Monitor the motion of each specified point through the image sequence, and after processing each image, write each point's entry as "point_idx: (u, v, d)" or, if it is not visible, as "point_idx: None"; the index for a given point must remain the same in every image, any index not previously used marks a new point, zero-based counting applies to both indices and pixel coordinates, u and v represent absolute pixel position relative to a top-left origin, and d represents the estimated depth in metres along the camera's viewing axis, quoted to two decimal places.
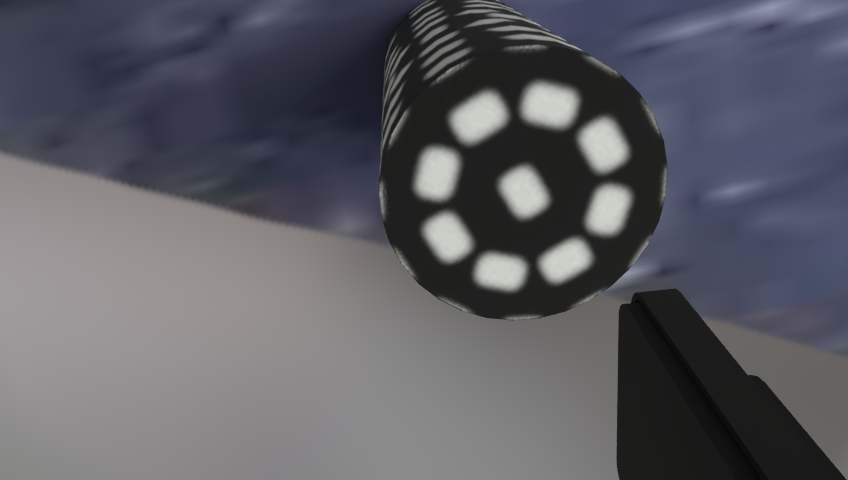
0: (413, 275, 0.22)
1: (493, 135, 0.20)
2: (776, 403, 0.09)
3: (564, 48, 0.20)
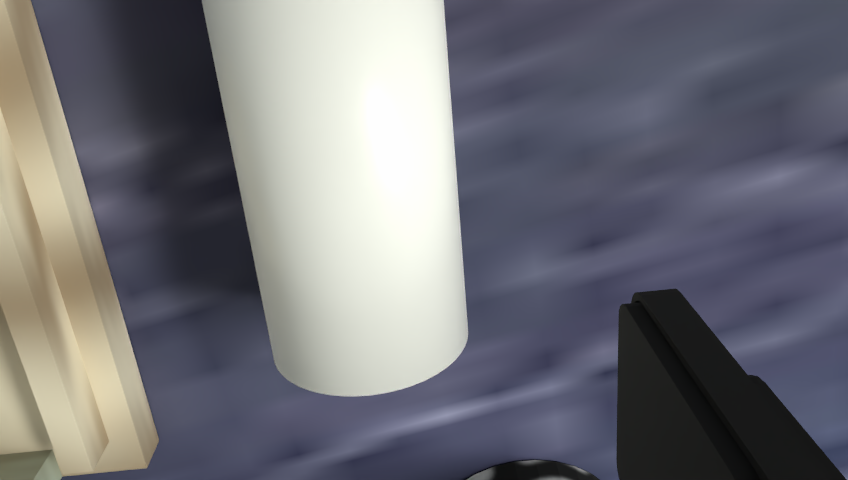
0: None
1: None
2: (776, 402, 0.09)
3: None
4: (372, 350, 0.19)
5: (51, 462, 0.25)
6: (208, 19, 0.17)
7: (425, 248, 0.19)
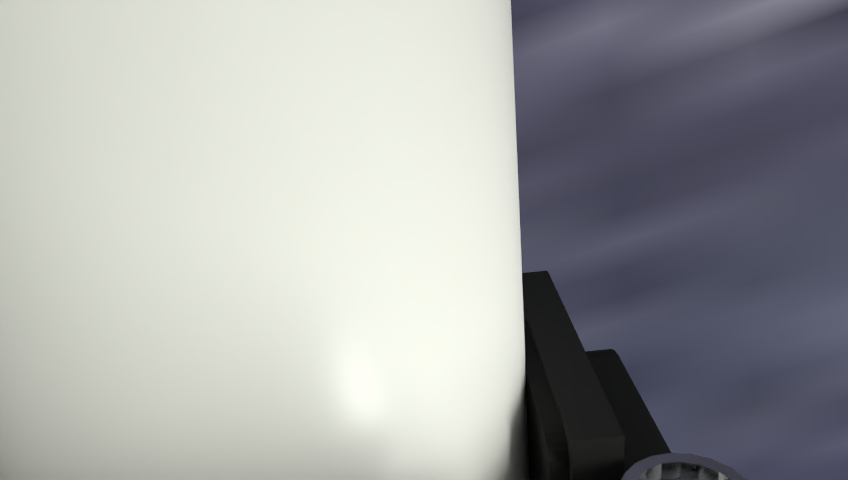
0: None
1: None
2: (624, 373, 0.09)
3: None
4: None
5: None
6: None
7: None
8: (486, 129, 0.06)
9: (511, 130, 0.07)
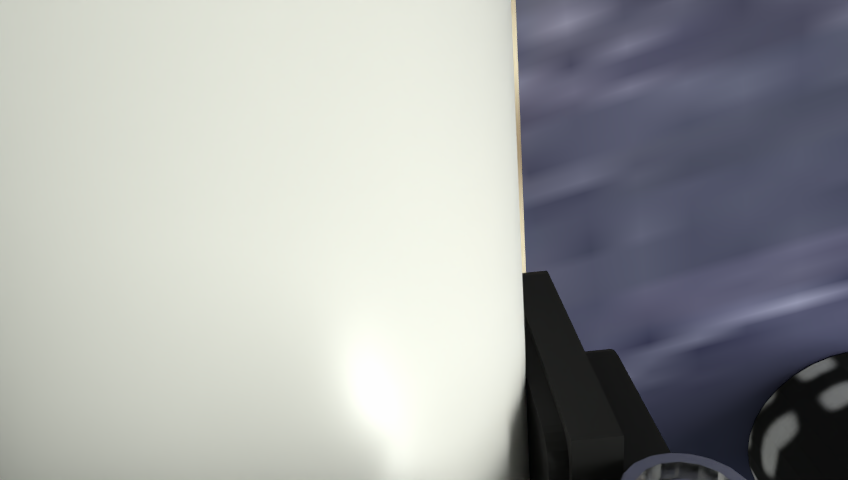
0: None
1: None
2: (624, 373, 0.09)
3: None
4: None
5: None
6: None
7: None
8: (487, 136, 0.06)
9: (511, 138, 0.07)
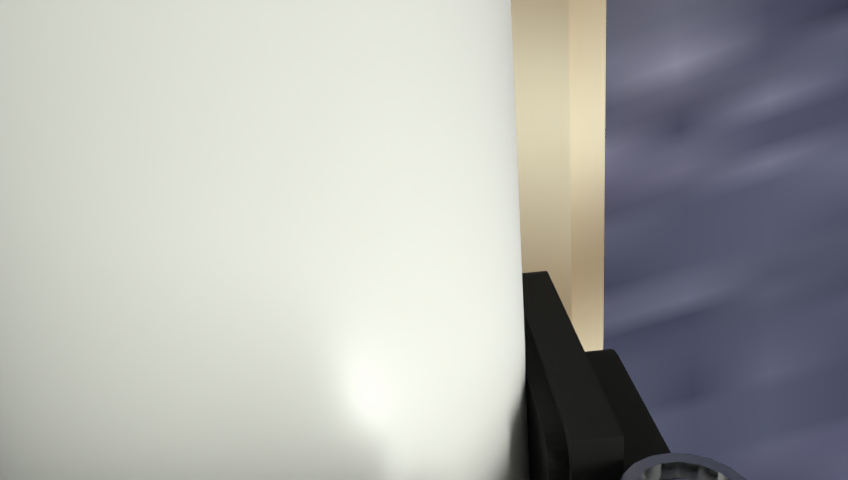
0: None
1: None
2: (624, 372, 0.09)
3: None
4: None
5: None
6: None
7: None
8: (485, 138, 0.06)
9: (511, 139, 0.07)
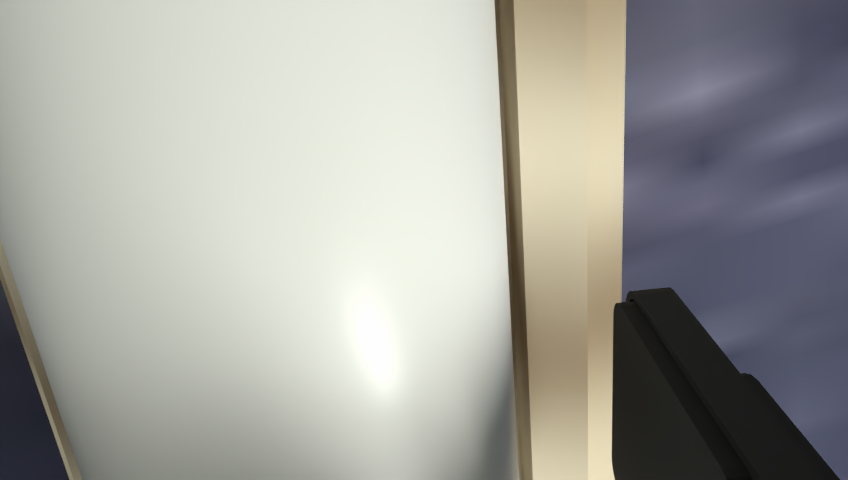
0: None
1: None
2: (769, 400, 0.09)
3: None
4: None
5: None
6: None
7: None
8: (471, 94, 0.07)
9: (494, 99, 0.08)
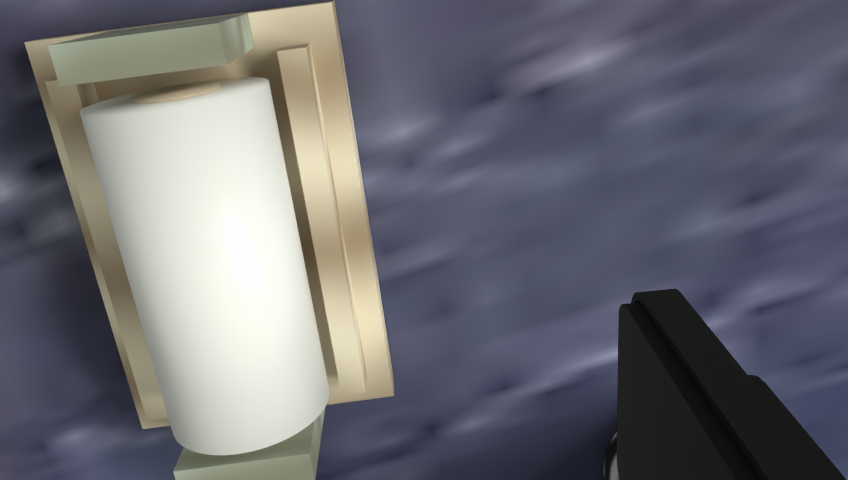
0: None
1: None
2: (776, 402, 0.09)
3: None
4: (242, 417, 0.25)
5: None
6: (99, 177, 0.23)
7: (278, 336, 0.25)
8: (260, 138, 0.23)
9: (272, 139, 0.24)
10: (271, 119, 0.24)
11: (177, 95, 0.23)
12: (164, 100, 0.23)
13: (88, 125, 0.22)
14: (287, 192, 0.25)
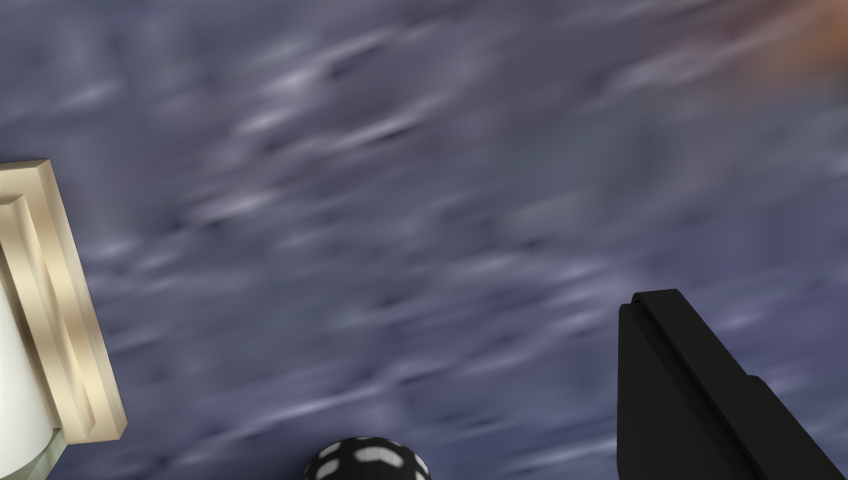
0: None
1: None
2: (776, 402, 0.09)
3: None
4: None
5: (61, 435, 0.42)
6: None
7: None
8: None
9: None
10: None
11: None
12: None
13: None
14: None
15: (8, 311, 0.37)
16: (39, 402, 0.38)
